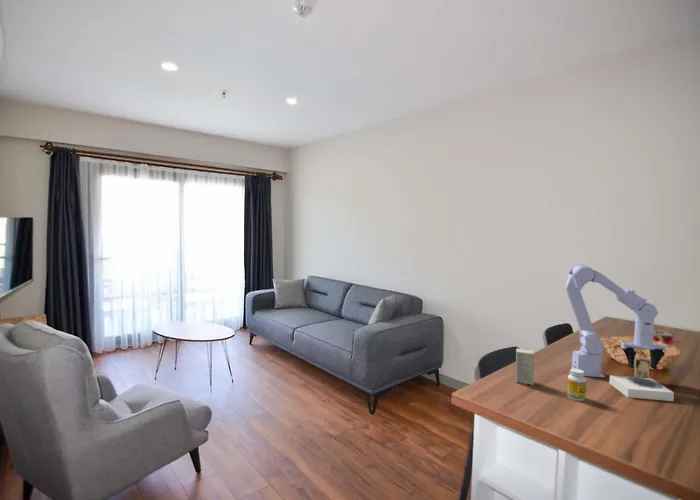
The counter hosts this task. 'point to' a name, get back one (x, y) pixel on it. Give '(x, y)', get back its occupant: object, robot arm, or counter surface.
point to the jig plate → (641, 388)
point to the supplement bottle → (576, 385)
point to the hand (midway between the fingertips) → (642, 367)
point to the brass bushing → (641, 368)
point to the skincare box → (525, 366)
